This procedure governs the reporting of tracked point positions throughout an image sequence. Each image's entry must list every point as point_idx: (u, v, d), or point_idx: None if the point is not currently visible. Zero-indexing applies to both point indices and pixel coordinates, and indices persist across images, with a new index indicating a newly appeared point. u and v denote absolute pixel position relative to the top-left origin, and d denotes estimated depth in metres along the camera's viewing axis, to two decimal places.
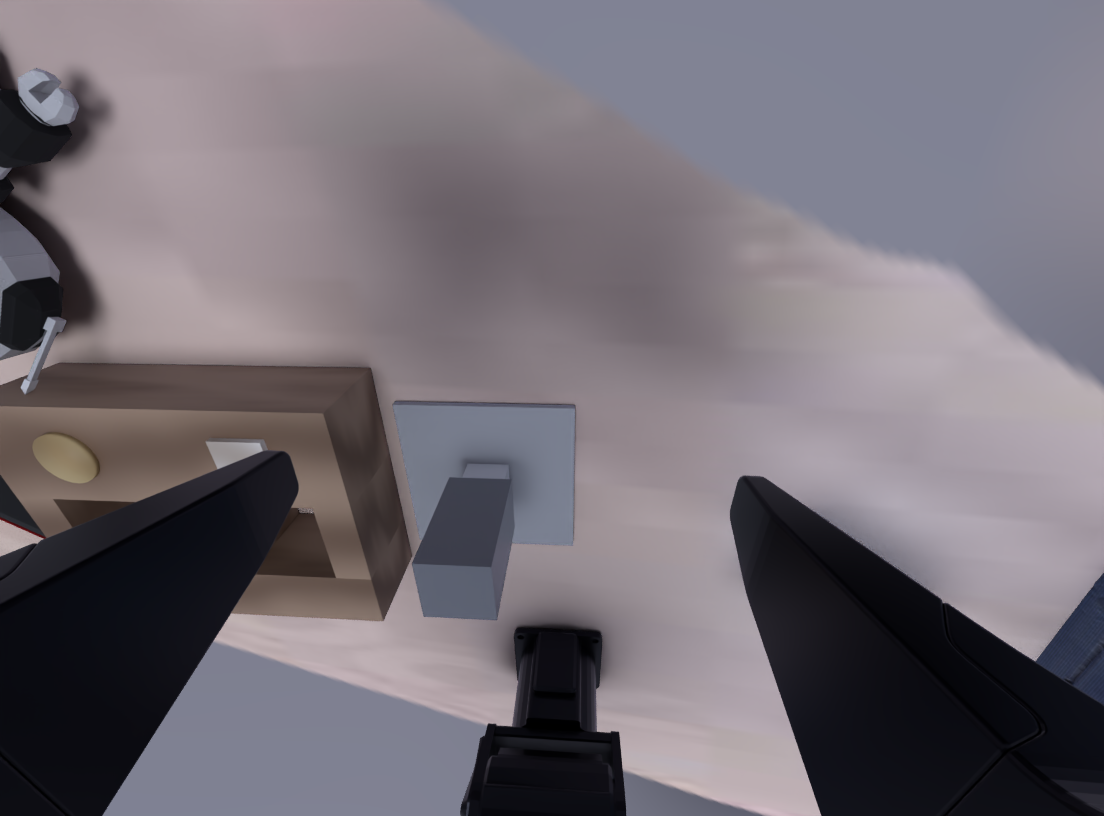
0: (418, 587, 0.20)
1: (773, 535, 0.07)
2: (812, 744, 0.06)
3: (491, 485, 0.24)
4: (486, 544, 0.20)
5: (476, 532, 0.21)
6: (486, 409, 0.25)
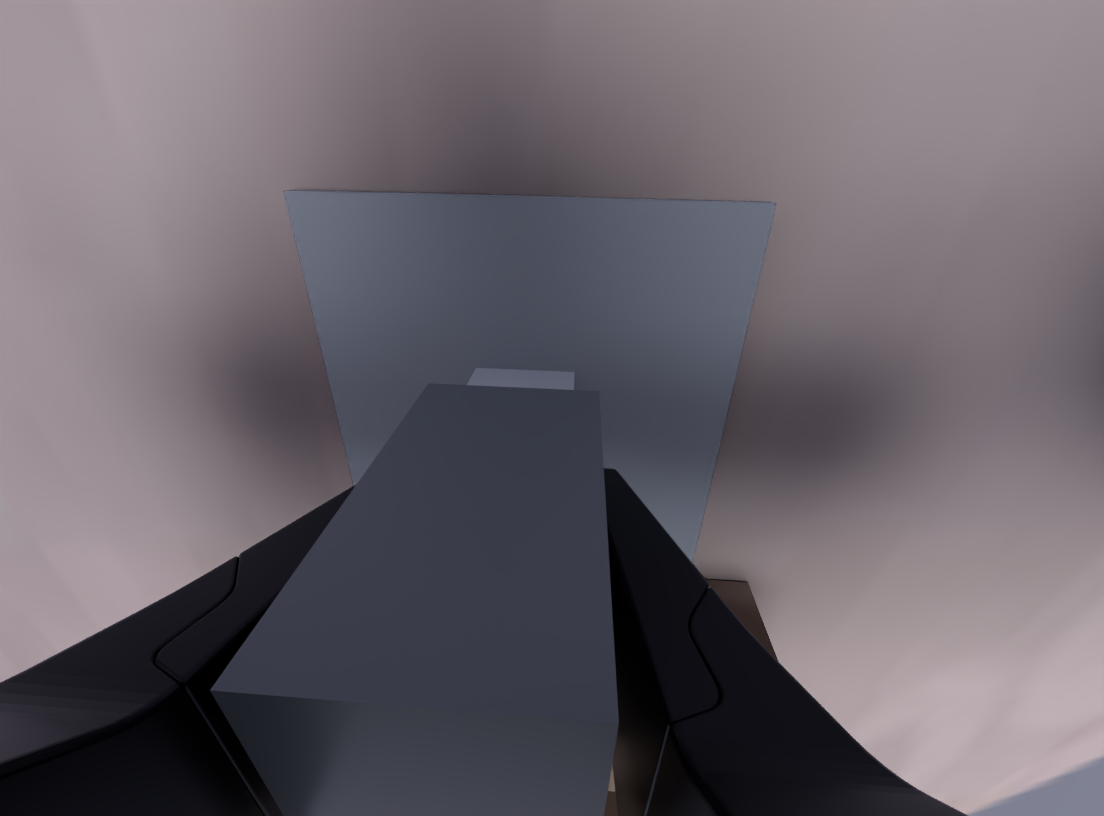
0: None
1: None
2: None
3: None
4: None
5: None
6: (339, 397, 0.12)
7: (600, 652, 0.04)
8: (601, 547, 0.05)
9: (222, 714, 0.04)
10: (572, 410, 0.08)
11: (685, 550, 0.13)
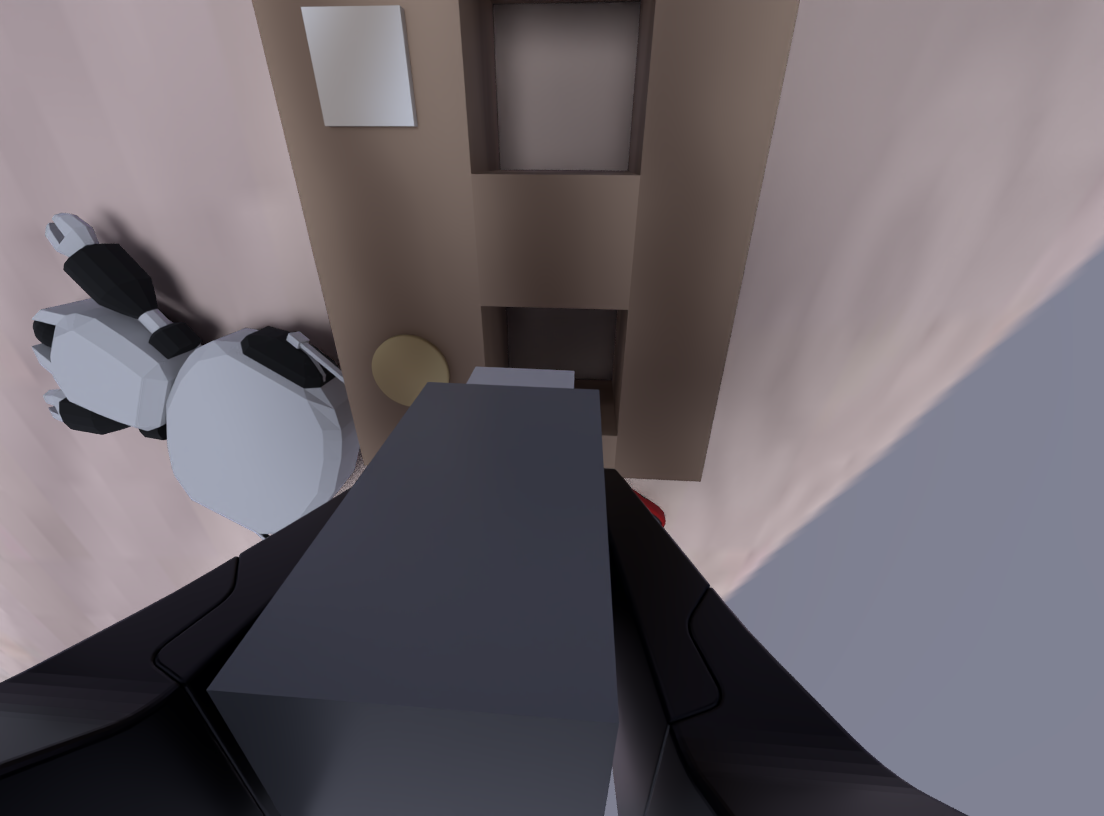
0: None
1: None
2: None
3: None
4: None
5: None
6: None
7: (600, 651, 0.04)
8: (601, 546, 0.05)
9: None
10: (572, 409, 0.08)
11: None
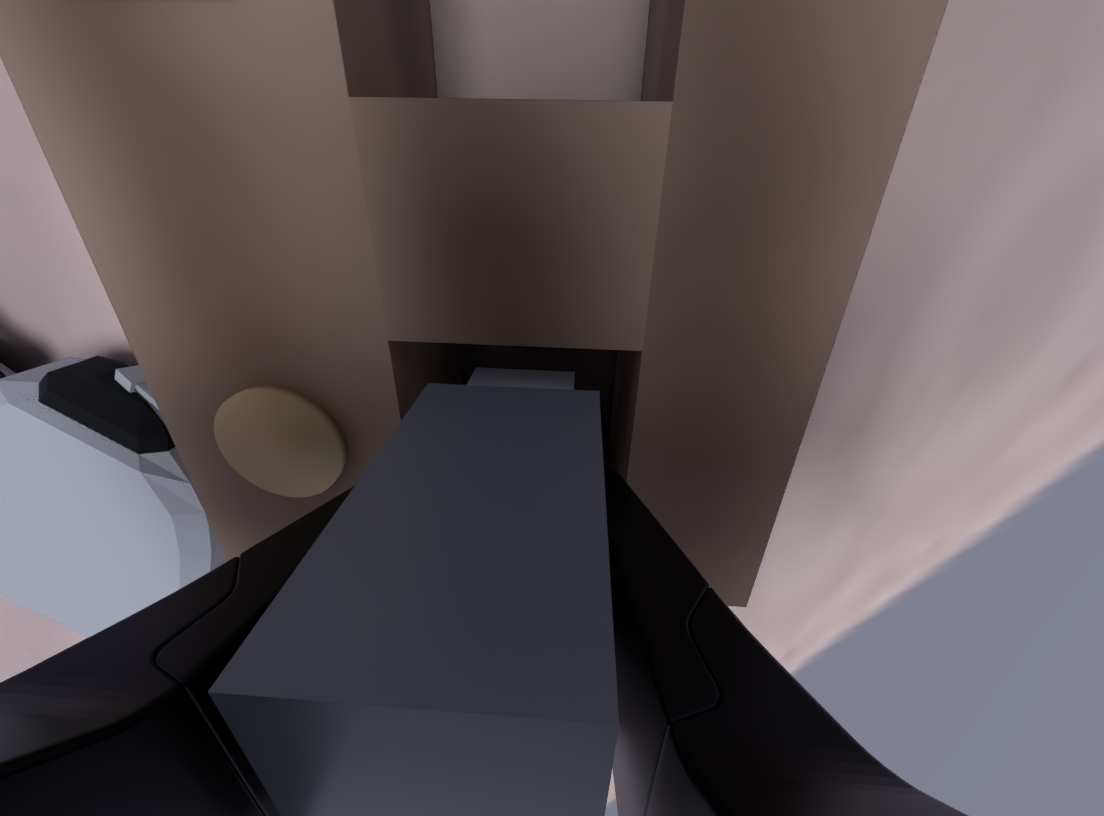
0: None
1: None
2: None
3: None
4: None
5: None
6: None
7: (600, 653, 0.04)
8: (601, 548, 0.05)
9: None
10: (572, 410, 0.08)
11: None
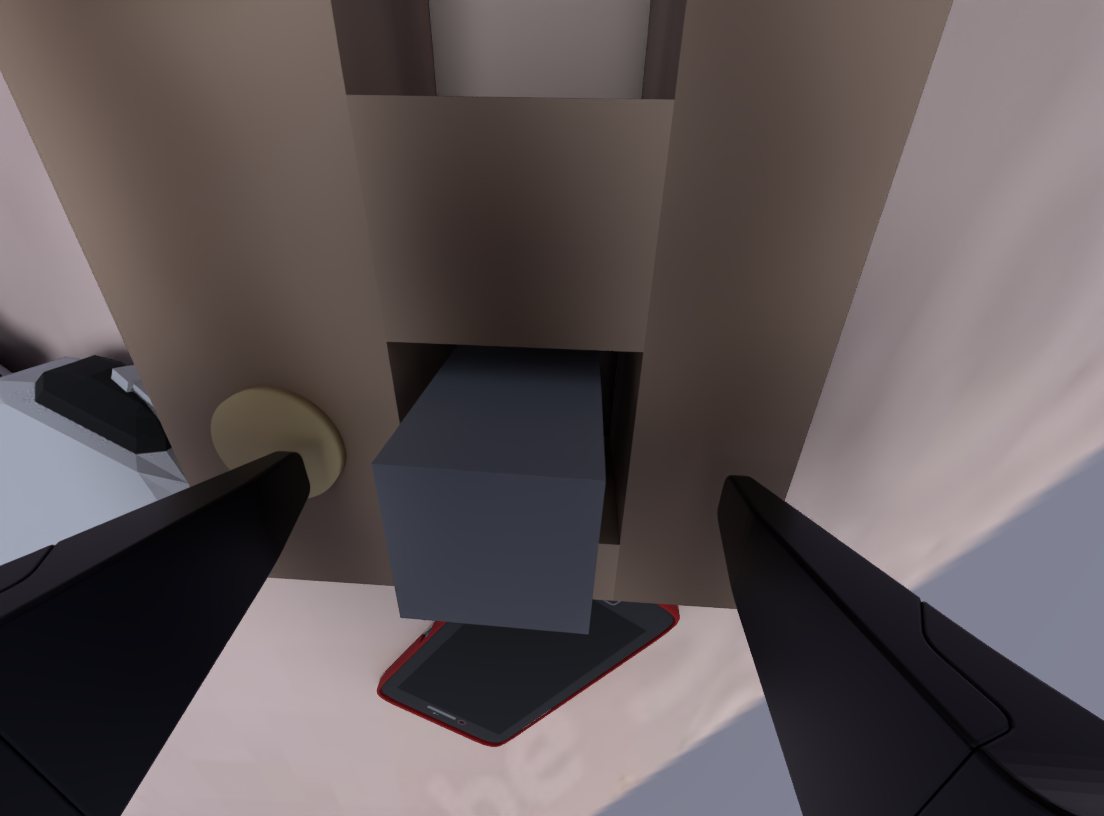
0: (487, 621, 0.08)
1: (757, 534, 0.07)
2: (794, 742, 0.06)
3: None
4: None
5: None
6: None
7: (596, 456, 0.07)
8: (598, 416, 0.08)
9: None
10: None
11: None
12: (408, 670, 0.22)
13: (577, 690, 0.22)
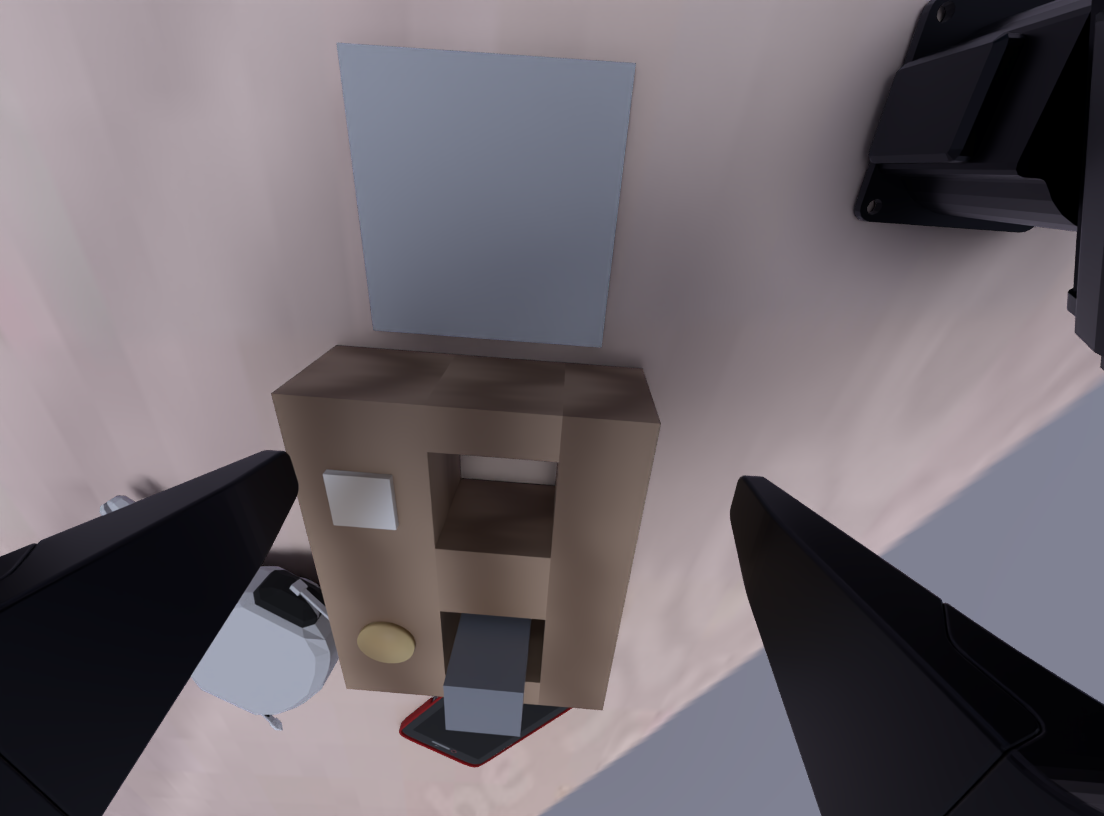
0: (480, 730, 0.21)
1: (773, 535, 0.07)
2: (812, 744, 0.06)
3: None
4: None
5: None
6: (361, 200, 0.17)
7: (521, 679, 0.20)
8: (526, 650, 0.21)
9: None
10: None
11: (596, 333, 0.19)
12: (421, 719, 0.34)
13: (528, 733, 0.34)
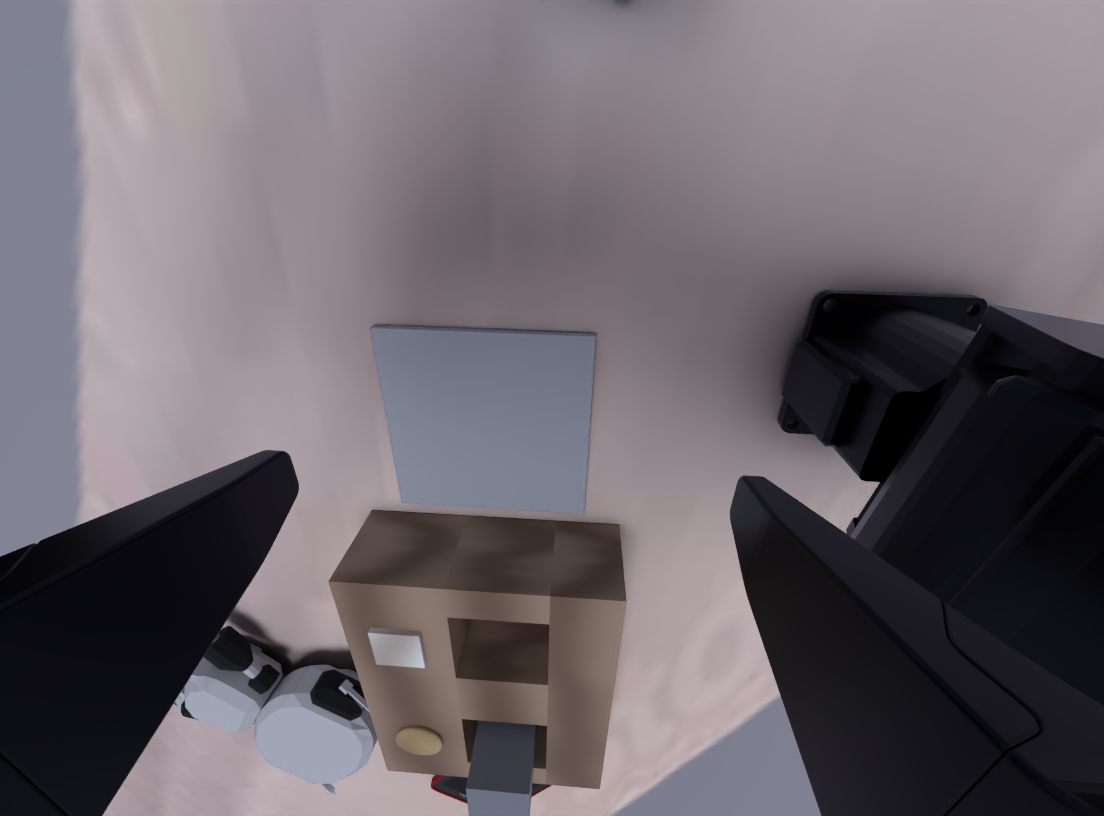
0: None
1: (773, 535, 0.07)
2: (812, 744, 0.06)
3: None
4: (471, 765, 0.25)
5: None
6: (390, 421, 0.22)
7: (528, 781, 0.24)
8: (531, 753, 0.26)
9: None
10: None
11: (579, 504, 0.24)
12: (449, 777, 0.39)
13: (543, 787, 0.39)
